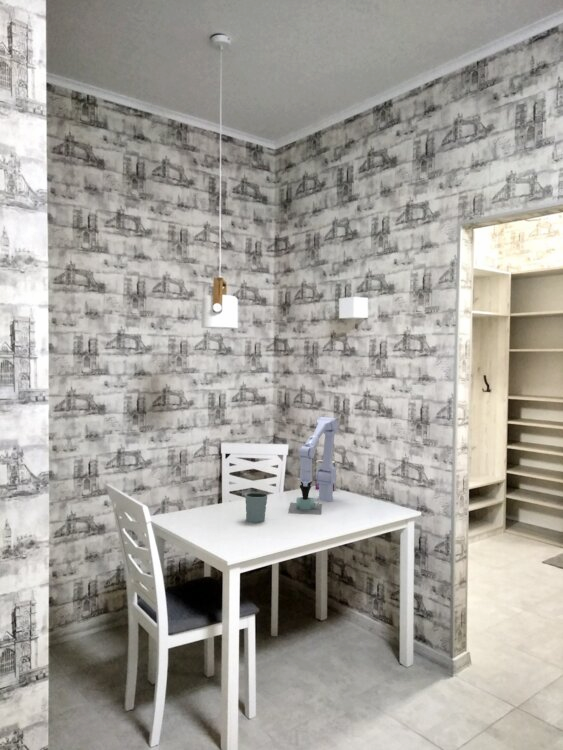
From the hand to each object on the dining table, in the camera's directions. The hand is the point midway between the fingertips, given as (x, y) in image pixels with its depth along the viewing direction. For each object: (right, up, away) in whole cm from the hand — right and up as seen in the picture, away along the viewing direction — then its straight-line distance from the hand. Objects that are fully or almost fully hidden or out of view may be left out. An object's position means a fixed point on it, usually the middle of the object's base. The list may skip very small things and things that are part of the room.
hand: (305, 497), depth 287 cm
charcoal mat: (0, -6, 0) cm, 6 cm away
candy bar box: (+13, -5, +44) cm, 46 cm away
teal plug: (+1, -5, 0) cm, 6 cm away
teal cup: (-24, -6, -20) cm, 32 cm away
